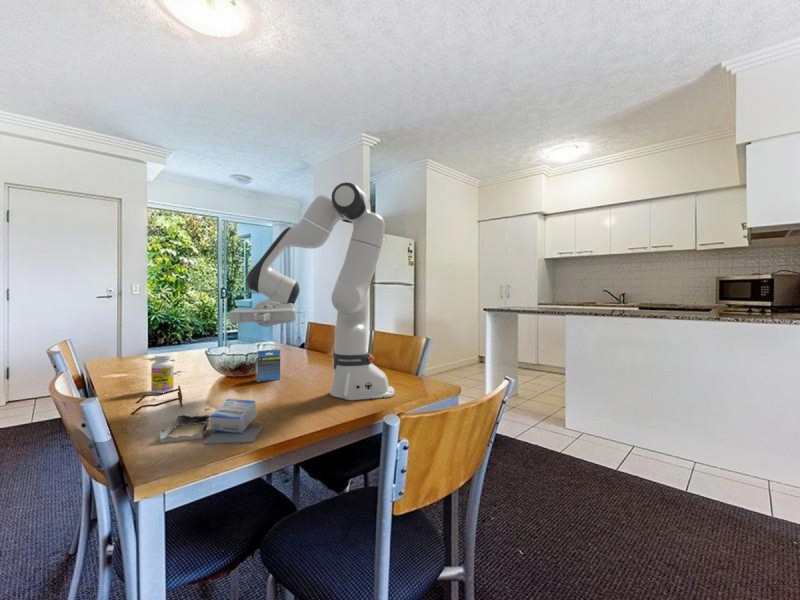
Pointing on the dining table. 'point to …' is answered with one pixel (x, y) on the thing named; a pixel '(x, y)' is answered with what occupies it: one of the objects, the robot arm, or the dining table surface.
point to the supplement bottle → (162, 374)
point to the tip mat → (236, 435)
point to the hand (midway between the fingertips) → (259, 318)
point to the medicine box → (233, 416)
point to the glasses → (161, 402)
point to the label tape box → (268, 366)
